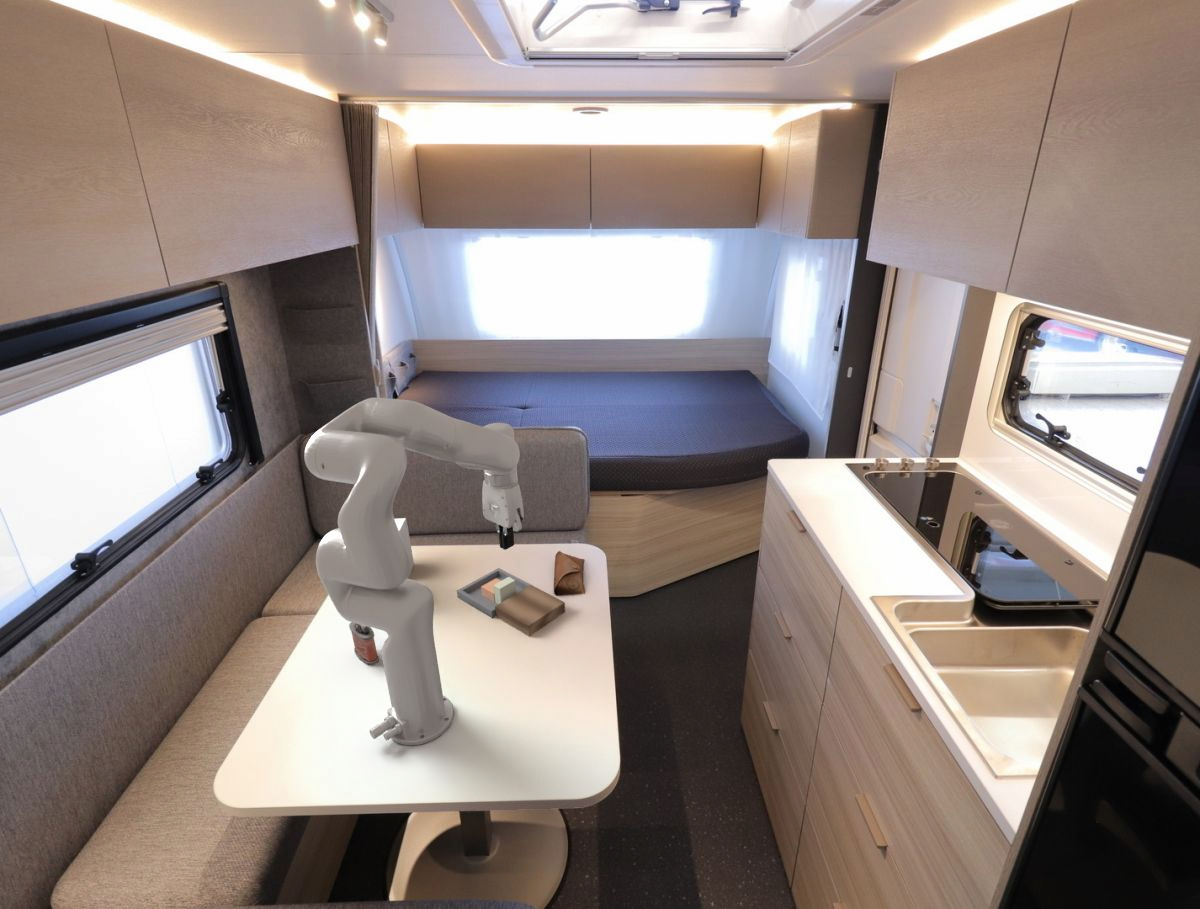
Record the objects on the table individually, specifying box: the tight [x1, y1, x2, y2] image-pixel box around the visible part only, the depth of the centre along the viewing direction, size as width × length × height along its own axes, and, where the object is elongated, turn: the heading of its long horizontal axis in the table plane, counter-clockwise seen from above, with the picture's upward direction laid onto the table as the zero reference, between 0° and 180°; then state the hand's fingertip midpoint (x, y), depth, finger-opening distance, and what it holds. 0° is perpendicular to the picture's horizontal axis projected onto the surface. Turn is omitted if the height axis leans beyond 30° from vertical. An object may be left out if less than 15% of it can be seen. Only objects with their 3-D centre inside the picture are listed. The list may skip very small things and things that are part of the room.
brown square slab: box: [495, 584, 566, 637], centre depth 151 cm, size 12×12×3 cm
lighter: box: [348, 622, 380, 667], centre depth 137 cm, size 8×3×10 cm, turn 47°
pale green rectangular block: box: [493, 577, 516, 604], centre depth 156 cm, size 5×5×2 cm
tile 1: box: [481, 578, 500, 602], centre depth 159 cm, size 5×5×2 cm
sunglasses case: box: [553, 550, 586, 597], centre depth 167 cm, size 18×7×7 cm
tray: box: [456, 567, 534, 619], centre depth 159 cm, size 14×14×2 cm
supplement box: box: [394, 517, 415, 579], centre depth 168 cm, size 9×9×15 cm
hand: (507, 546), depth 148 cm, fingers closed
